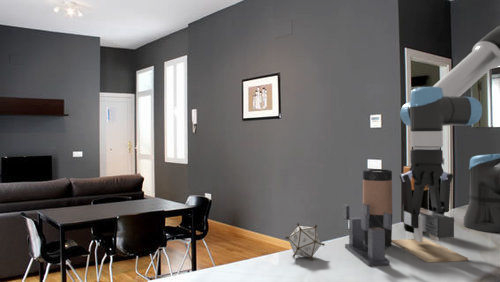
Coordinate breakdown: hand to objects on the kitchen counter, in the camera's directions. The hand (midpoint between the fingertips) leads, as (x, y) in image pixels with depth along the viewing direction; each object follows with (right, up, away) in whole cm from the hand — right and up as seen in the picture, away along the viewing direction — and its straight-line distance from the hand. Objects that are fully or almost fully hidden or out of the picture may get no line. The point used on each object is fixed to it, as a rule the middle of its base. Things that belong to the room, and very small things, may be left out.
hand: (426, 240), depth 103 cm
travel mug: (-10, -3, +6) cm, 13 cm away
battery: (+6, -3, +22) cm, 23 cm away
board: (0, -3, 0) cm, 3 cm away
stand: (-17, -3, -4) cm, 17 cm away
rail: (0, +3, 0) cm, 3 cm away
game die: (-32, -3, -5) cm, 32 cm away
